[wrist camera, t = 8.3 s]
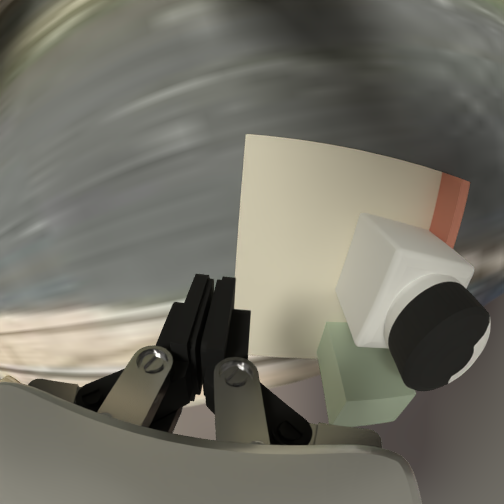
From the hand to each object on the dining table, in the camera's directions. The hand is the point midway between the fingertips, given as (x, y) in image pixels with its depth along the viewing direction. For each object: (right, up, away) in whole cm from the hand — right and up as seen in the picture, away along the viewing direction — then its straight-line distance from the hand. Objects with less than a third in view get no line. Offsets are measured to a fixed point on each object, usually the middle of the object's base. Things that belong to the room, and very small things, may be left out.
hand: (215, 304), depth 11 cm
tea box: (+11, -6, +13) cm, 18 cm away
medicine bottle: (+12, +2, +10) cm, 16 cm away
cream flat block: (+9, 0, +10) cm, 14 cm away
